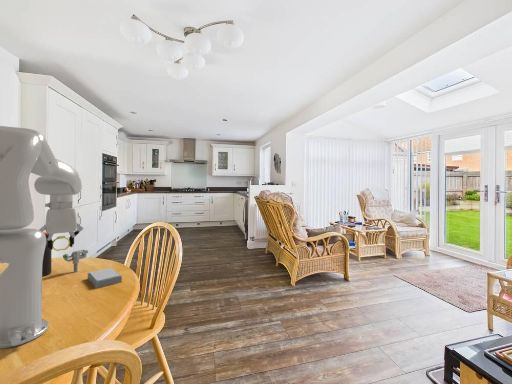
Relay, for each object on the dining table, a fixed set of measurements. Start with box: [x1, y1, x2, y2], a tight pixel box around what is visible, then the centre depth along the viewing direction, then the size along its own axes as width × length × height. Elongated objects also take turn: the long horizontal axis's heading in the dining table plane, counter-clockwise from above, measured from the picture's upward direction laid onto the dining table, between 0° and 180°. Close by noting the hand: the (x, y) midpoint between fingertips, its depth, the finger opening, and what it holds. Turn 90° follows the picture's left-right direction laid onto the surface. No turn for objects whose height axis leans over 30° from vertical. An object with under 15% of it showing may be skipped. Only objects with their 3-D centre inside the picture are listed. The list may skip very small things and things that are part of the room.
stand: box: [87, 267, 123, 289], centre depth 110 cm, size 14×10×3 cm
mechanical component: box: [62, 249, 89, 273], centre depth 119 cm, size 3×10×10 cm, turn 152°
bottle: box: [42, 231, 52, 277], centre depth 114 cm, size 7×7×20 cm
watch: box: [52, 235, 70, 252], centre depth 101 cm, size 6×3×6 cm, turn 135°
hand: (61, 247), depth 101 cm, fingers closed on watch, 6 cm apart
